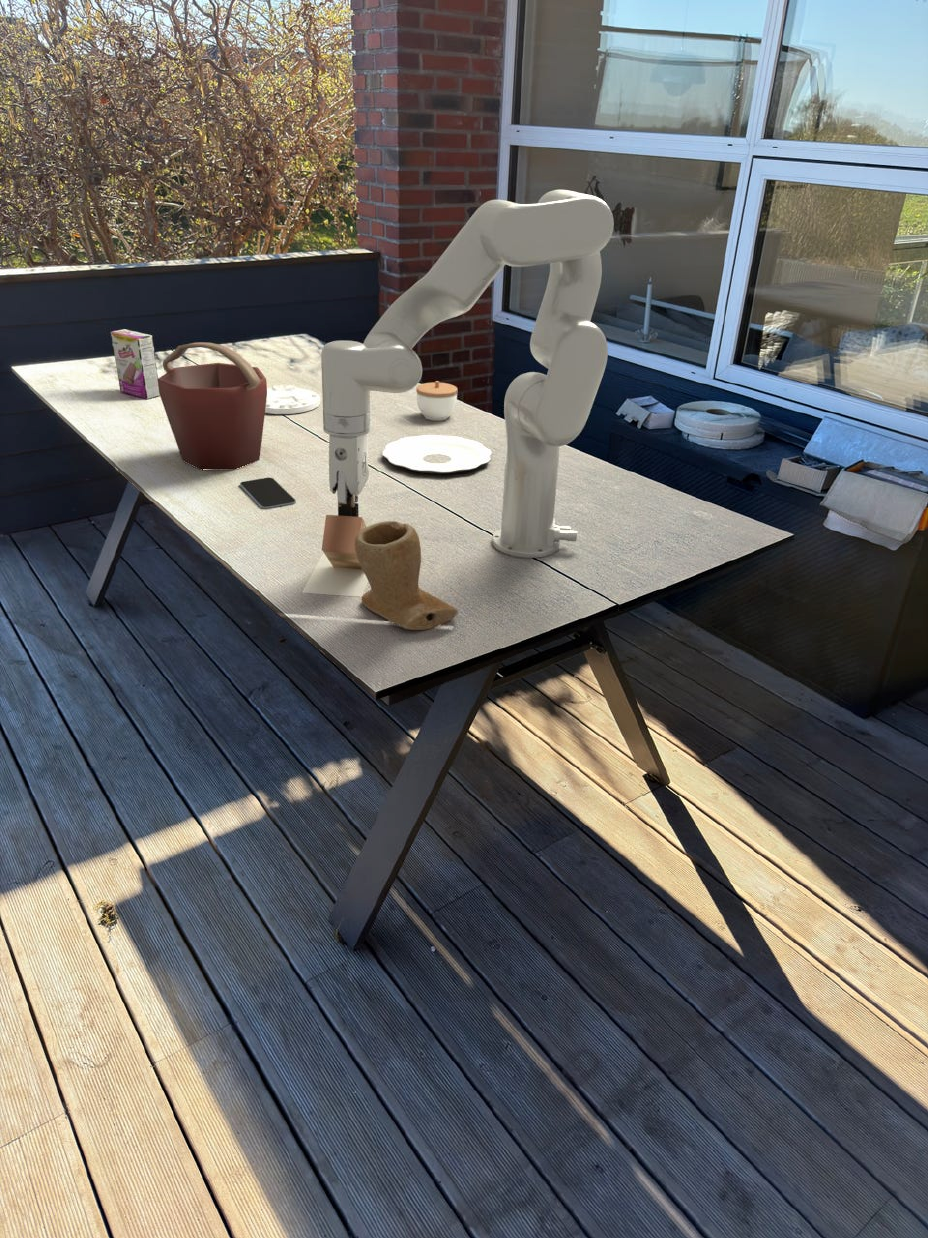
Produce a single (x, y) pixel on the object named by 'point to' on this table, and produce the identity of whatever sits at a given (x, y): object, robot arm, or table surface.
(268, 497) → the smartphone
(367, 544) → the clay platform pipe
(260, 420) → the bucket
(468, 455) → the plate
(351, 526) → the oak block
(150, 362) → the candy bar box
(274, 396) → the white round plaque
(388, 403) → the table surface
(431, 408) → the lidded jar
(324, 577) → the mat
